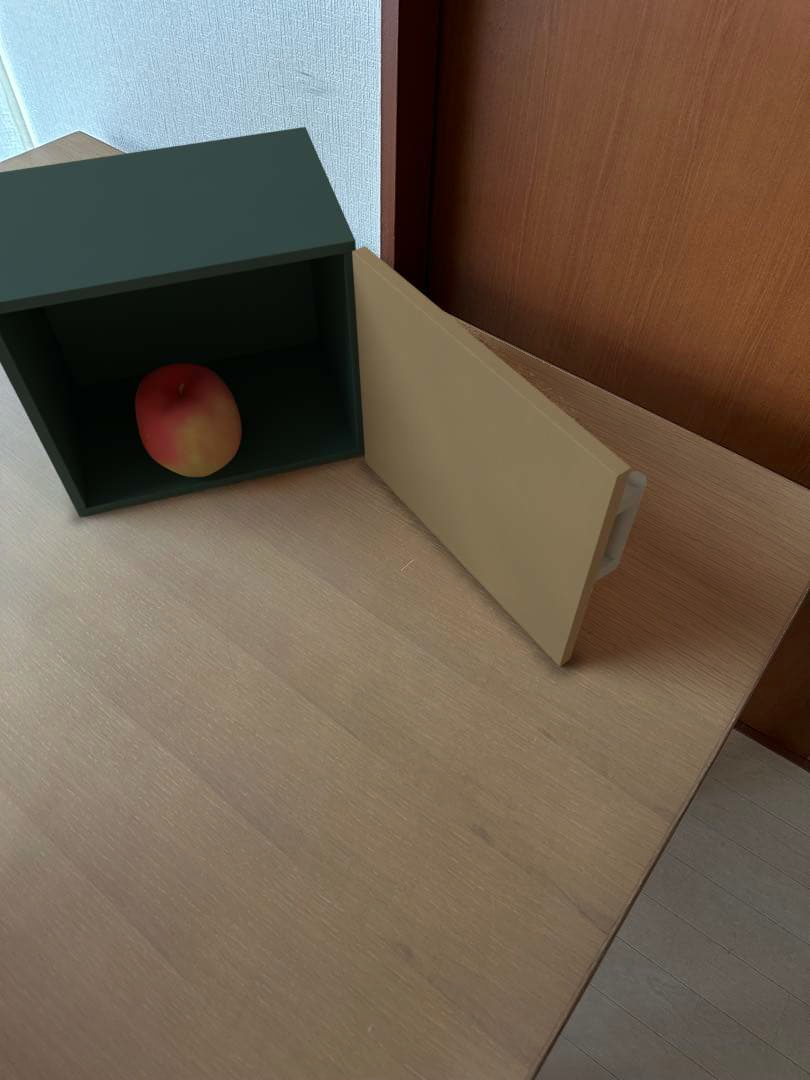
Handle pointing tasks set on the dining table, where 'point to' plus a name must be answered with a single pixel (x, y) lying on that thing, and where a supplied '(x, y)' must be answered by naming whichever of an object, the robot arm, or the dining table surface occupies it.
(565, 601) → the cupboard door
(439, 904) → the dining table surface
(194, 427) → the apple
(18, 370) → the cupboard
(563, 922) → the dining table surface
